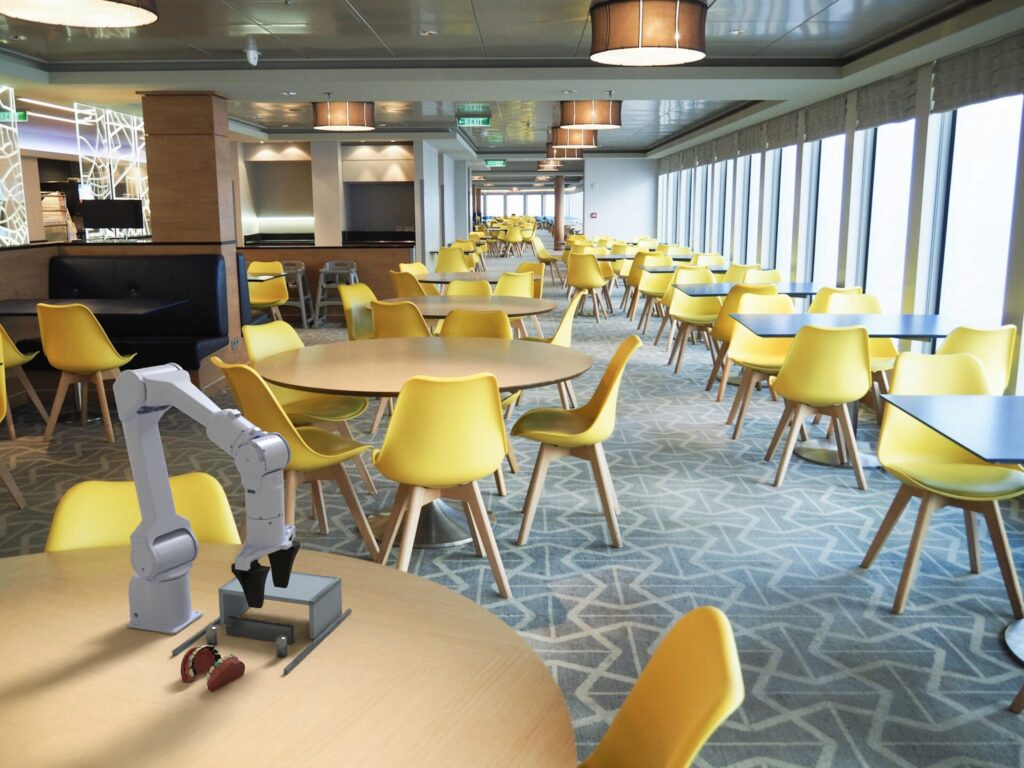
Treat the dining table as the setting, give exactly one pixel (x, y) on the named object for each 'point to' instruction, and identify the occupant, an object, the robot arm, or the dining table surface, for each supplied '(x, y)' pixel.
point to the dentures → (211, 667)
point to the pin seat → (261, 635)
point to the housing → (290, 598)
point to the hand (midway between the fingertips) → (268, 596)
